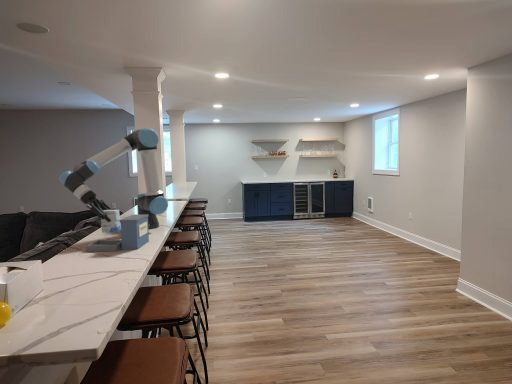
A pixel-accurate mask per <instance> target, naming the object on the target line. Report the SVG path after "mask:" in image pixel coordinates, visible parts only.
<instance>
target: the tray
mask: <svg viewBox="0 0 512 384" xmlns="http://www.w3.org/2000/svg"><path fill="white" fill-rule="evenodd" d="M119 250H122V242H121V239H98V240H96V241H94V242H90V243H89V244H86V251H87V252H118V251H119Z"/></svg>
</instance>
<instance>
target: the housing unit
mask: <svg viewBox="0 0 512 384" xmlns="http://www.w3.org/2000/svg"><path fill="white" fill-rule="evenodd" d="M148 216H149V214H144V215H138V214H131V215H128V216H126V217H123V218H120V222H121V223H120V228H121V230H120V240H121V242H122V248H121V250H139V249H141V248H142V247H143V246H145V245H146V244H147V243H149V242H150V236H149V234H150V233H149V229H148Z"/></svg>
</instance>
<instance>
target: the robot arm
mask: <svg viewBox="0 0 512 384" xmlns="http://www.w3.org/2000/svg"><path fill="white" fill-rule="evenodd" d="M159 140H160V138H159V134H158V132H156V130H154V129H153V128H150V127H149V128H148V127H147V128H145V127H144V128H141V129H136V130H133V131H132V132H131V133H129V134H128V135H126V136H124V137H123V138H121V141H118V142H116V143H115V144H113V145H112V146H109V147H108V148H106V149H104V150H102V151H100V152H99V153H96V154H95V155H93V156H91V157H90V158H89V157H88V159H86V160H84V161H82V162H80V163H77V164H75V165H74V166H73V167H72V169H71V170H66V171H64V172H62V174H60V176H59V178H58V180H59V182H60V183H61V184H62V185H63V186H64V187H65V188H66V189H67V190H68V191H70V192H71V193H72V195H74V196H75V197H76V198H77V199H79V200H80V202H82V203H83V204H84V205H86V208H88V209H89V210H90V211H92V212H93V213H94V214H95V215H96V216H97V217H98V218H99V219H101V218H102V220H103V219H105V220H106V221H107V222H108V223H109V224H110V225H111V226H113V227H114V226H115V225H116V224H117V223H116V222H115V221H114V220H113V219H112V218H111V217H110V216H109V215H106V213H105V212H104V211H103V210H113V209H112V208H111V207H110V206H109V205H108V204H106V203H105V202H104V200H103V199H100V200H99V199H98V198H97V194H96V193H95V192H94V190H91V189H90V187H89V186H88V185H87V184H85V182H87V180H89V179H91V178H92V177H93V176H94V175H96V174H97V173H98V172H99V171H100V170H101V168H102V167H103V166H105V165H107V164H108V163H110V162H112V161H114V160H116V159H117V158H120V157H121V156H122V155H125V154H127V153H128V152H130V153H131V152H134V151H135V150H137V152H138V153H139V154H140V158H141V163H142V165H141V166H142V170H143V176H144V181H145V183H144V184H145V189H146V192H145V193H139V194H137V197H136V202H137V206H136V207H137V215H144V214H149V216H148V230H150V229H151V228H152V229H157V228H159V227H160V222H159V219H158V217H157V215H159V216H160V215H162V214H164V213H165V212H166V211H167V210H168V207H169V202H168V200H167V198H166V197H165V194H164V191H162V190H161V184H160V177H159V176H160V175H159V169H158V163H157V156H156V153H157V151H158V147H157V146H158V143H159ZM120 224H121V222H120Z"/></svg>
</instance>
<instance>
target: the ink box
mask: <svg viewBox="0 0 512 384" xmlns="http://www.w3.org/2000/svg"><path fill="white" fill-rule="evenodd" d="M103 211H104V212H105V213H106V215H109V216H110V217H111V218H112V219H113V220H114V221H115V222H116V223H117V224H116V225H115V226H114V227H113V226H111V225H110V224H109V223H108V222H107V221H106V220H105V219H103V220H102V218H100V225H101V233H104V234H105V233H118V232H121V223H120V220H121V218H120V209H112V210H103Z"/></svg>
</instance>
